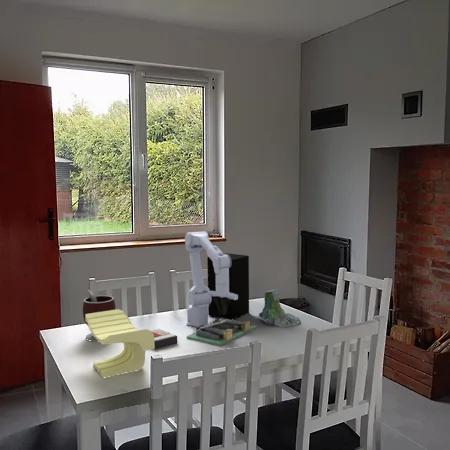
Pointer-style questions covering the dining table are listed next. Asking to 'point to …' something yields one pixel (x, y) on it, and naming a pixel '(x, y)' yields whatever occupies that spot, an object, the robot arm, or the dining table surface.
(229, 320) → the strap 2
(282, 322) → the tree stump
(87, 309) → the mate gourd
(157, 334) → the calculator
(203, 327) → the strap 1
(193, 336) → the circuit board
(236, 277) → the video game console
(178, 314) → the dining table surface
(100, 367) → the slatted curved stool
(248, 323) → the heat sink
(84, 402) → the dining table surface
